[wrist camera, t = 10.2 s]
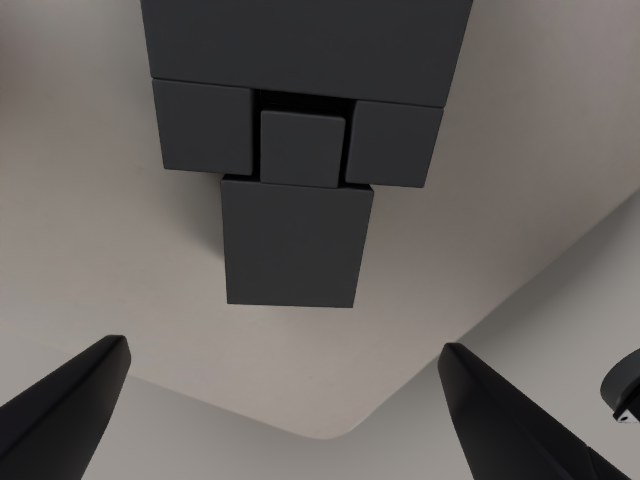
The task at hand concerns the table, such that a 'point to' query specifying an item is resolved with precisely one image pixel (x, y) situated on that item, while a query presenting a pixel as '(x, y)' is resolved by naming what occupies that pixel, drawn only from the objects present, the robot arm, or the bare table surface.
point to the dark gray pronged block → (303, 77)
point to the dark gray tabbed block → (295, 215)
